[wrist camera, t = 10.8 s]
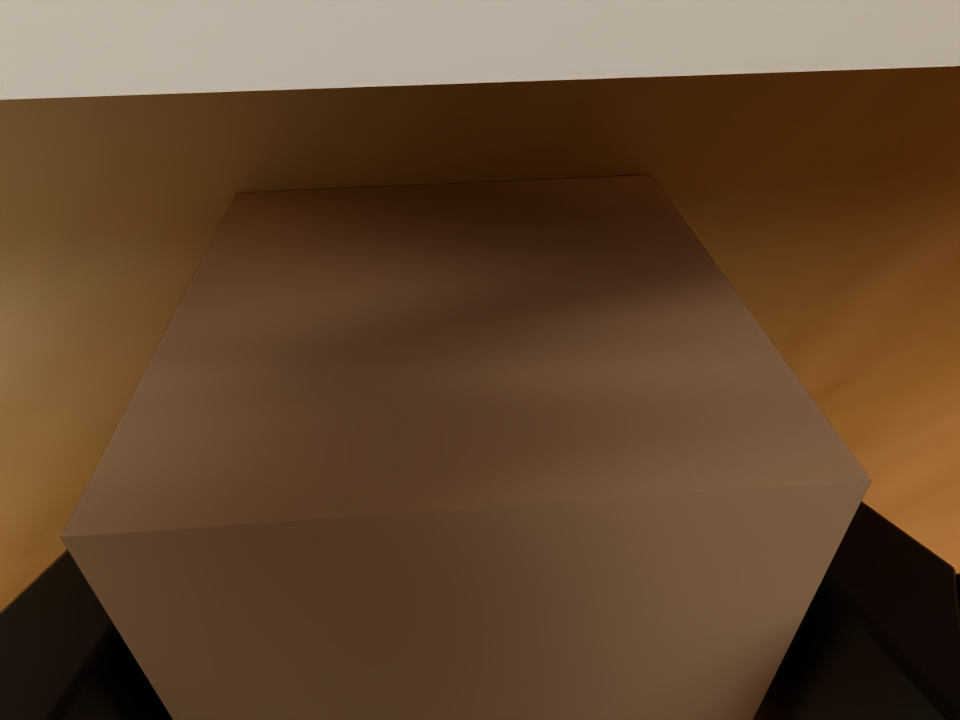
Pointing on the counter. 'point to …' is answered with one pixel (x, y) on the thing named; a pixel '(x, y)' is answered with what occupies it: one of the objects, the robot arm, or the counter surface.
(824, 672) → the robot arm
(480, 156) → the counter surface
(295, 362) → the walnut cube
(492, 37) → the tray
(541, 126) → the counter surface
